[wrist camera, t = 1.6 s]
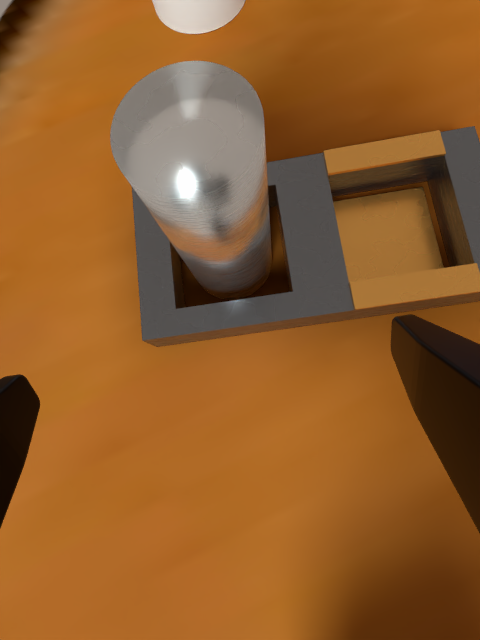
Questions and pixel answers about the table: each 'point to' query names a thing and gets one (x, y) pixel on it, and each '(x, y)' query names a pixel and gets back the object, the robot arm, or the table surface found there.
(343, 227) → the grey flat frame
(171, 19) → the cylindrical container
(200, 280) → the steel peg
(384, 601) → the table surface
